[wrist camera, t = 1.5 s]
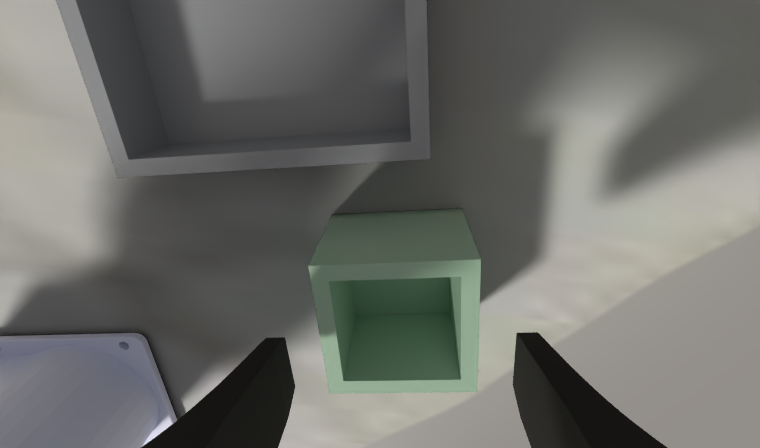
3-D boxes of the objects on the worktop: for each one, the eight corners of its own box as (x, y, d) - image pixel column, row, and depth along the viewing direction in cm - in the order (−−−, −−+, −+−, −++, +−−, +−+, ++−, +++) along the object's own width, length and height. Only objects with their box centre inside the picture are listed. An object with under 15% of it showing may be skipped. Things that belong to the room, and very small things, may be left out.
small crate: (346, 320, 19) (329, 393, 15) (331, 214, 17) (307, 266, 13) (461, 317, 18) (477, 391, 14) (461, 207, 16) (480, 259, 12)
